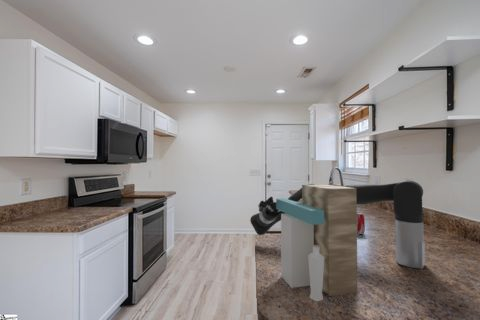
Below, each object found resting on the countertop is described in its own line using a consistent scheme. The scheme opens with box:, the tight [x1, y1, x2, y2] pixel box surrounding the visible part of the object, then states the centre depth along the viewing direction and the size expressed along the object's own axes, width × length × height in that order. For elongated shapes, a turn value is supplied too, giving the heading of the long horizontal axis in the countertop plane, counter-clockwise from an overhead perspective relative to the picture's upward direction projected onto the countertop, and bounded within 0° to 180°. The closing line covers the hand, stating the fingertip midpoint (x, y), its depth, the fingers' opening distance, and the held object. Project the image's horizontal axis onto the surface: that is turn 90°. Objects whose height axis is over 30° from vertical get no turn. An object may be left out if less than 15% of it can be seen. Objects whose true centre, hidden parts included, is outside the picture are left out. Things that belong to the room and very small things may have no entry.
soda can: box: [357, 211, 366, 235], centre depth 136 cm, size 7×7×12 cm
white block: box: [280, 213, 314, 289], centre depth 79 cm, size 8×8×22 cm
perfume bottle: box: [308, 245, 324, 302], centre depth 69 cm, size 5×4×15 cm
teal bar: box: [275, 198, 324, 225], centre depth 80 cm, size 26×4×4 cm, turn 14°
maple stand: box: [301, 184, 359, 297], centre depth 79 cm, size 16×10×32 cm, turn 14°
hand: (282, 198), depth 90 cm, fingers open, 8 cm apart
